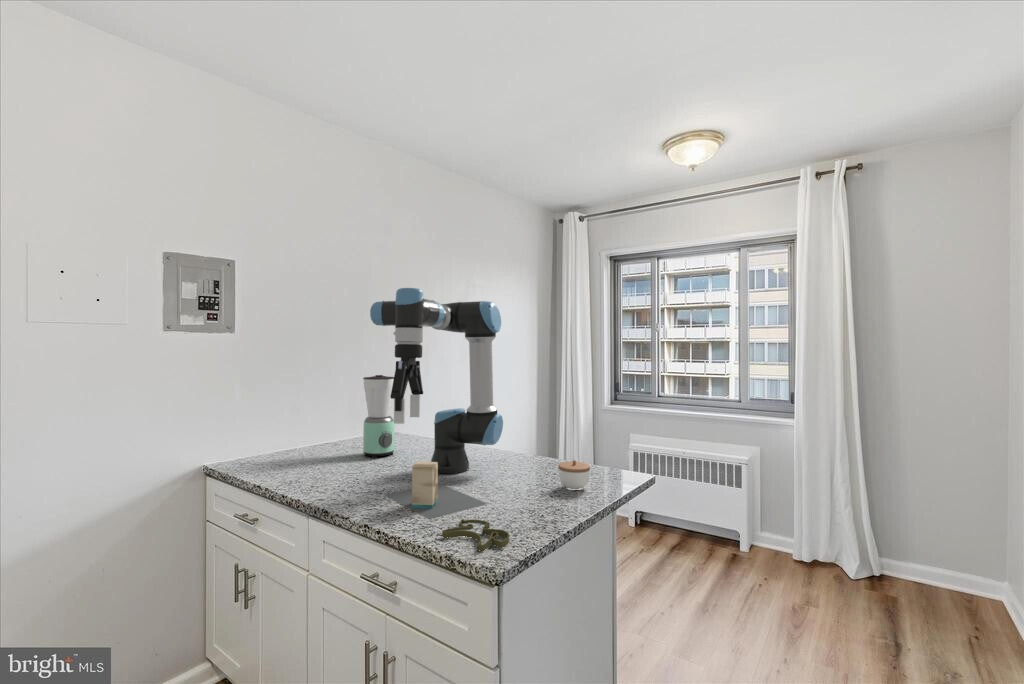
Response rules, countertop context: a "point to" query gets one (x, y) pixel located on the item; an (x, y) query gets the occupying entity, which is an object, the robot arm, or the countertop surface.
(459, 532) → the cookie cutter
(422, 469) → the maple block
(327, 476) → the countertop surface
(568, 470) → the lidded jar
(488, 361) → the robot arm
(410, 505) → the charcoal mat
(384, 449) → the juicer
